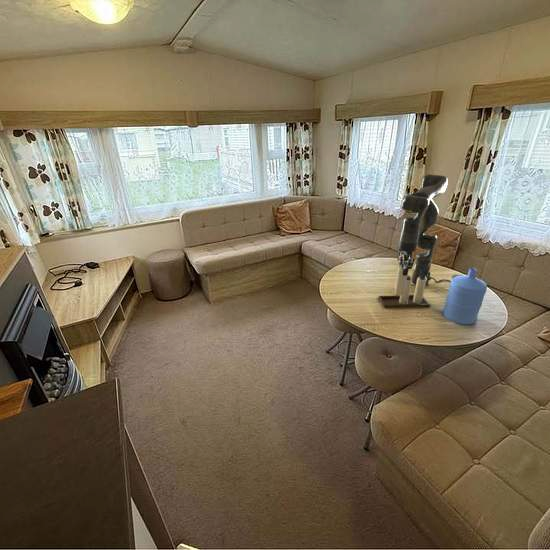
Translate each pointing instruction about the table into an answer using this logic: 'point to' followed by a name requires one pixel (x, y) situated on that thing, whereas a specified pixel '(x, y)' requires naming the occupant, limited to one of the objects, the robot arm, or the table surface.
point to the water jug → (465, 298)
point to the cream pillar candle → (400, 281)
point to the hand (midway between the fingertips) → (402, 272)
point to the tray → (394, 302)
